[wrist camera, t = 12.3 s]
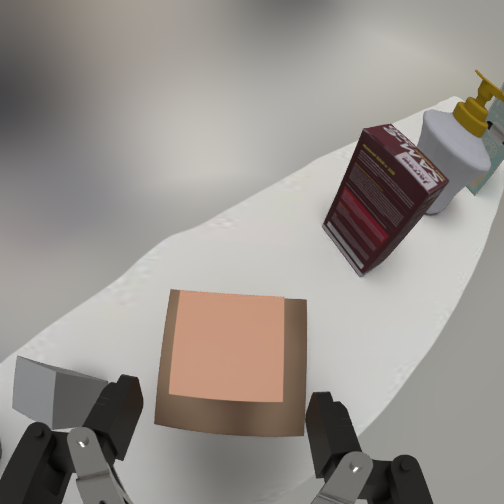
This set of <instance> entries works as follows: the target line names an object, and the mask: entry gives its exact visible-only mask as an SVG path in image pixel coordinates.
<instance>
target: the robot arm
mask: <svg viewBox="0 0 504 504" xmlns="http://www.w3.org/2000/svg"><path fill="white" fill-rule="evenodd" d="M142 409H143V396H142V392H141V388H140V383H139V379H138V378H137V377H134V376H129V375H124V374H122V375H121V376H120V378H119V379H118V381H117V383H113V382H111V383H109V384H108V385H107V386H106V387H104V388H103V390H102V392H101V393H100V395H99V397H98V399H97V400H96V403H95V404H94V406H93V408H92V409H91V411H90V413H89V415H88V417H87V418H86V420H85V422H84V424H83V425H82V427H77V428H74V429H73V430H71V431H70V432H69V433H66V432H57V431H51V429H50V428H49V426H48V425H46V424H45V423H42V422H35V423H32V424H31V425H29V426H28V428H27V429H26V431H25V433H24V435H23V436H22V438H21V440H20V442H19V444H18V445H17V447H16V449H15V451H14V453H13V455H12V457H11V459H10V461H9V463H8V465H7V467H6V469H5V471H4V473H3V475H2V477H1V479H0V504H62V501H63V498H64V495H65V492H66V489H67V486H68V483H69V480H70V478H71V475H72V473H77V476H78V479H76V484H77V487H78V490H79V492H80V495H81V498H82V500H83V503H84V504H133V502H132V501H131V499H130V498H129V496H128V494H127V492H126V490H125V489H124V487H123V485H122V482H121V480H120V478H119V476H118V474H117V472H116V470H115V468H114V465H113V464H114V462H115V459H118V460H121V461H123V460H124V457H125V455H126V452H127V449H128V446H129V444H130V441H131V438H132V436H133V433H134V430H135V428H136V425H137V422H138V420H139V417H140V415H141V412H142ZM305 421H306V428H307V433H308V438H309V443H310V448H311V453H312V459H313V464H314V469H315V474H316V478H324V481H325V484H324V486H323V487H322V489H321V490H320V492H319V493H318V494H317V496H316V497H315V498H314V500H313V501H312V502H311V504H354V503H355V501H356V499H367V502H368V504H433V501H432V498H431V495H430V493H429V490H428V487H427V484H426V481H425V479H424V476H423V473H422V471H421V468H420V466H419V463H418V461H417V460H416V459H415V458H414V457H412V456H410V455H400V456H398V457H396V458H395V459H394V460H393V461H379V460H373V459H371V458H370V457H369V456H368V455H367V454H365V453H363V452H362V450H361V448H360V445H359V442H358V439H357V436H356V433H355V430H354V428H353V426H352V422H351V419H350V416H349V414H348V411H347V408H346V407H345V406H344V405H343V404H342V403H341V402H340V401H338V402H333V399H332V396H331V393H330V392H313V394H312V396H311V399H310V402H309V406H308V409H307V412H306V418H305ZM0 456H1V448H0Z"/></svg>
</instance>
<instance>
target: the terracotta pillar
mask: <svg viewBox="0 0 504 504" xmlns="http://www.w3.org/2000/svg"><path fill="white" fill-rule="evenodd" d="M283 375H284V297H274V296H255V295H238V294H223V293H209V292H196V291H184V290H180V295H179V303H178V310H177V318H176V326H175V334H174V343H173V352H172V362H171V373H170V385H169V394H173V395H181V396H188V397H197V398H206V399H217V400H230V401H250V402H283Z"/></svg>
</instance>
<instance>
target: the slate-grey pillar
mask: <svg viewBox="0 0 504 504" xmlns="http://www.w3.org/2000/svg"><path fill="white" fill-rule="evenodd" d="M107 385H108V381H105V380H101V379H97V378H94V377H91V376H87V375H84V374H81V373H78V372H74V371H71V370H67V369H63V368H59V367H55V366H51V365H47V364H44V363H40V362H37V361H33V360H30V359H27V358H24V357H20V356H17V360H16V368H15V377H14V388H13V404H12V408H13V409H15V410H16V411H18V412H20V413H22V414H23V415H25V416H27V417H29V418H30V419H32V420H34V421H36V422H42V423H45V424H46V425H48V426H49V428H50V429H52V430H54V429H65V428H74V427H82V425H83V424H84V422H85V420H86V418H87V417H88V415H89V413H90V411H91V409H92V408H93V406H94V404H95V403H96V400H97V399H98V397H99V395H100V393H101V392H102V390H103V388H104V387H106V386H107Z"/></svg>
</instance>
